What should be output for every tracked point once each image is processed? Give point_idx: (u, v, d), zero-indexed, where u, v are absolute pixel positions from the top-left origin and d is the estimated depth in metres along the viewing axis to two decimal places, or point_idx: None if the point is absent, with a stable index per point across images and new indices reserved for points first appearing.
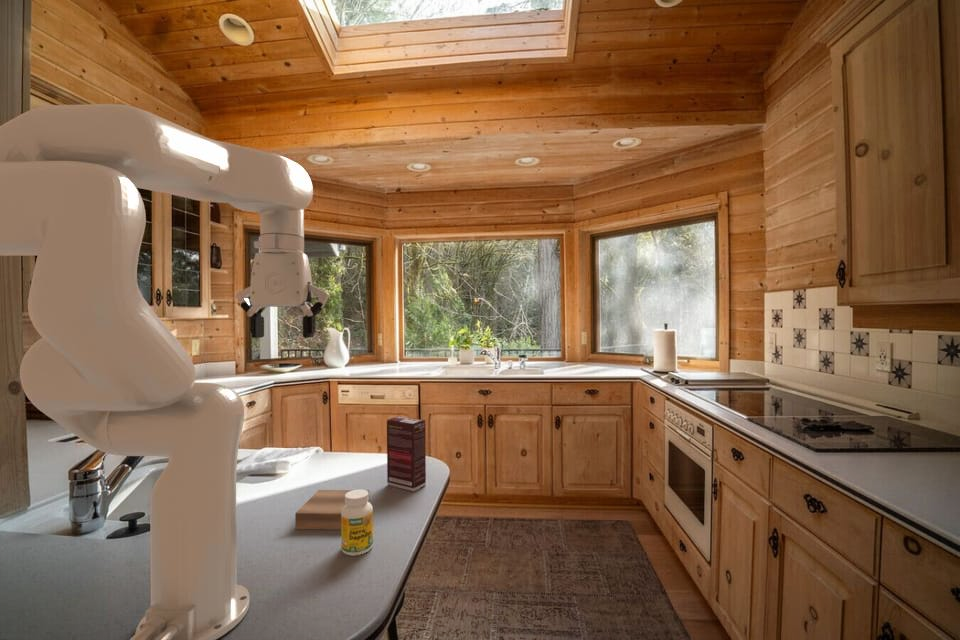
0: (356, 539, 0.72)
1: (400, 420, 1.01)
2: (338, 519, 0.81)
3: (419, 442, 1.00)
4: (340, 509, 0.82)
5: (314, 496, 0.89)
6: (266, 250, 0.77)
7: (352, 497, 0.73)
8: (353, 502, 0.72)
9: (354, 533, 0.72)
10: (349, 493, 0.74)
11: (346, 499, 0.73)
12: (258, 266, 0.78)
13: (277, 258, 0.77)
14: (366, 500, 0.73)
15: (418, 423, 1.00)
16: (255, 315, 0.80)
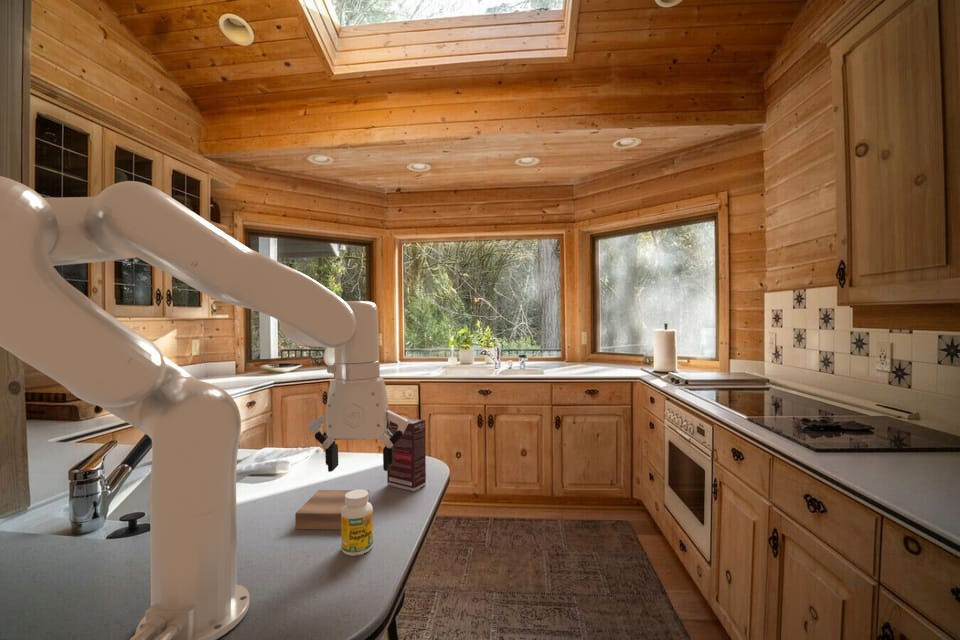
0: (356, 539, 0.72)
1: None
2: (338, 519, 0.81)
3: (419, 442, 1.00)
4: (340, 509, 0.82)
5: (314, 496, 0.89)
6: (343, 382, 0.71)
7: (352, 497, 0.73)
8: (353, 502, 0.72)
9: (354, 533, 0.72)
10: (349, 493, 0.74)
11: (346, 499, 0.73)
12: (334, 397, 0.72)
13: (355, 388, 0.72)
14: (366, 500, 0.73)
15: (418, 423, 1.00)
16: (330, 446, 0.74)
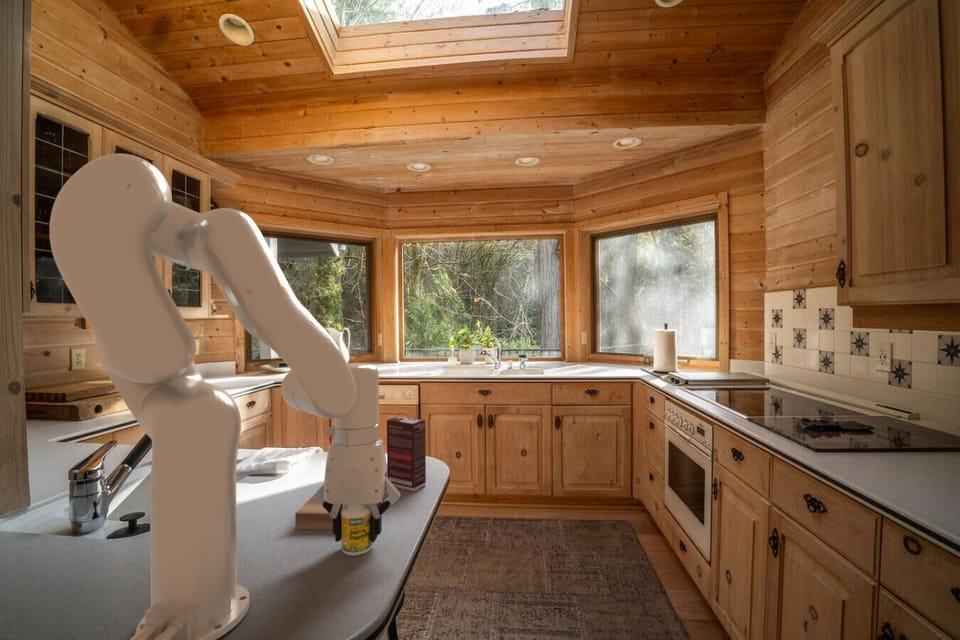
0: (356, 539, 0.72)
1: (400, 420, 1.01)
2: None
3: (419, 442, 1.00)
4: None
5: None
6: (343, 447, 0.71)
7: None
8: None
9: (354, 533, 0.72)
10: None
11: None
12: (333, 462, 0.72)
13: (354, 453, 0.71)
14: None
15: (418, 423, 1.00)
16: (338, 516, 0.73)
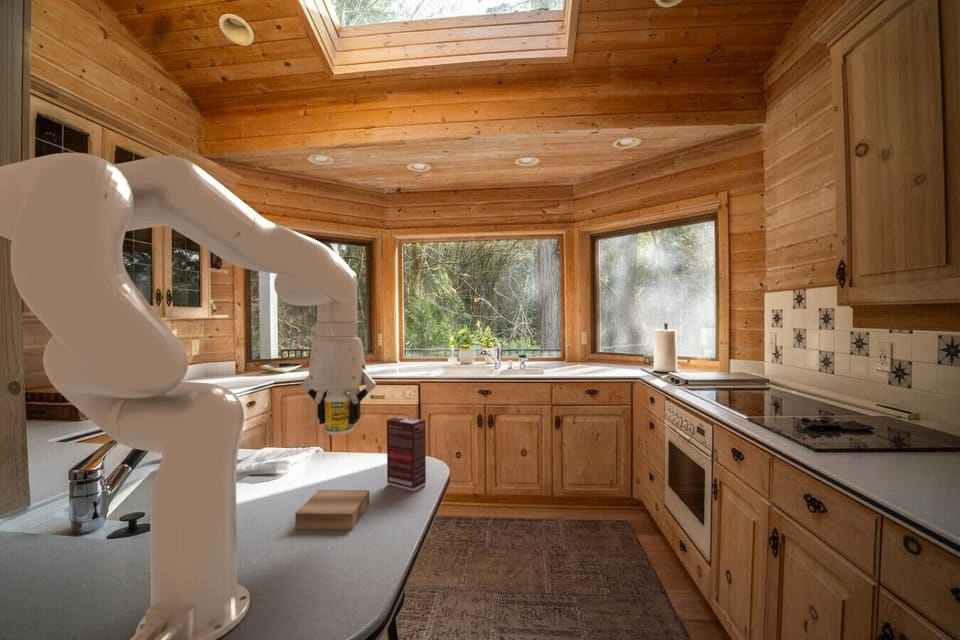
0: (337, 420, 0.82)
1: (400, 420, 1.01)
2: (338, 519, 0.81)
3: (419, 442, 1.00)
4: (340, 509, 0.82)
5: (314, 496, 0.89)
6: (324, 338, 0.81)
7: None
8: None
9: (335, 415, 0.82)
10: None
11: None
12: (316, 352, 0.82)
13: (334, 345, 0.81)
14: None
15: (418, 423, 1.00)
16: (322, 402, 0.84)
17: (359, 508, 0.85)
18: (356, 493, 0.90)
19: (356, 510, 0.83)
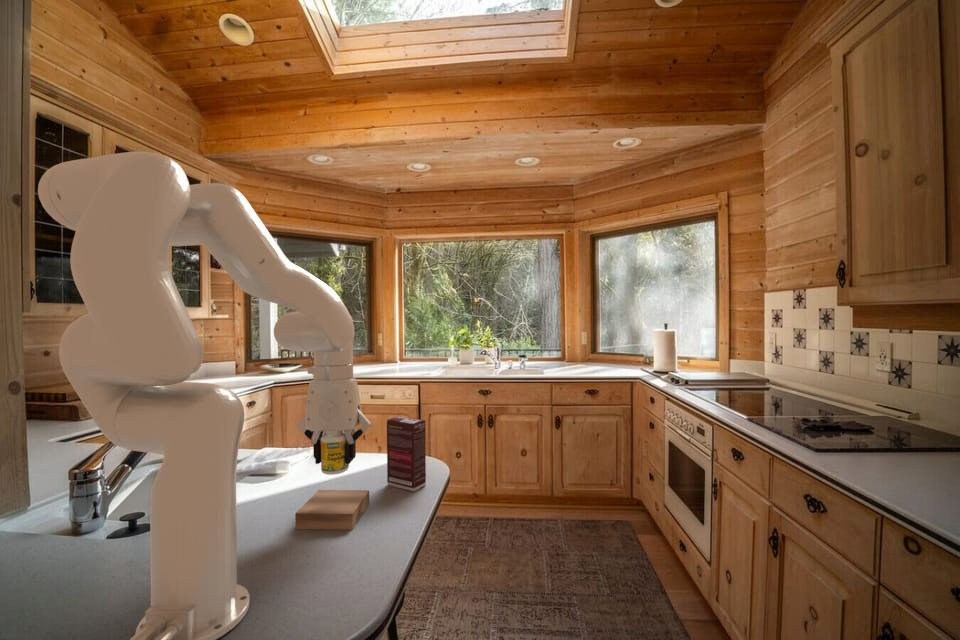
0: (333, 460, 0.84)
1: (400, 420, 1.01)
2: (338, 519, 0.81)
3: (419, 442, 1.00)
4: (340, 509, 0.82)
5: (314, 496, 0.89)
6: (321, 381, 0.83)
7: None
8: None
9: (331, 455, 0.84)
10: None
11: None
12: (313, 394, 0.84)
13: (330, 387, 0.84)
14: None
15: (418, 423, 1.00)
16: (318, 442, 0.86)
17: (359, 508, 0.85)
18: (356, 493, 0.90)
19: (356, 510, 0.83)
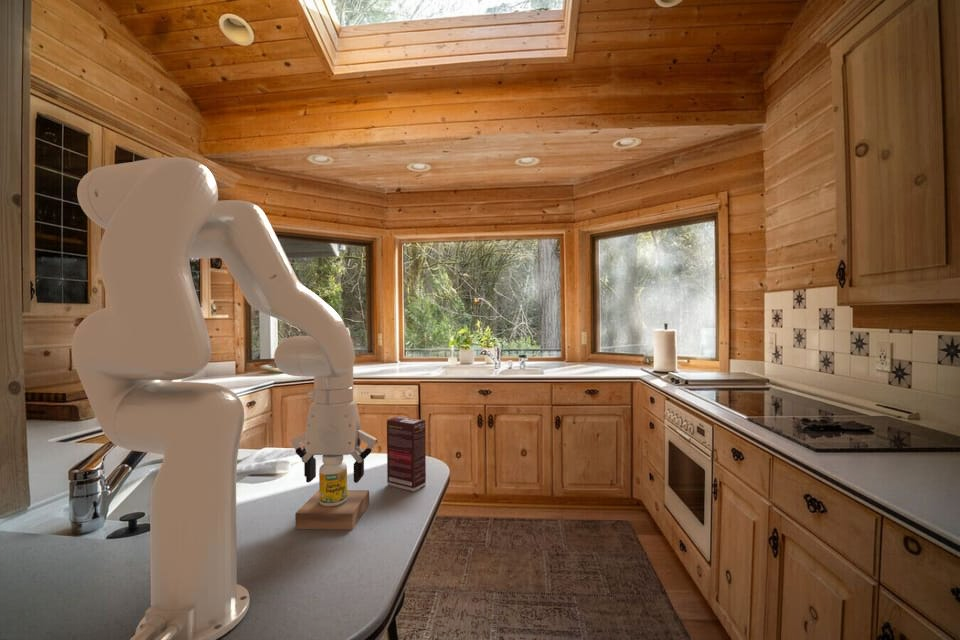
0: (331, 492, 0.84)
1: (400, 420, 1.01)
2: (338, 519, 0.81)
3: (419, 442, 1.00)
4: (340, 509, 0.82)
5: (314, 496, 0.89)
6: (321, 405, 0.83)
7: (328, 456, 0.85)
8: (329, 460, 0.84)
9: (329, 487, 0.84)
10: None
11: (323, 458, 0.85)
12: (313, 418, 0.84)
13: (330, 411, 0.84)
14: (341, 460, 0.86)
15: (418, 423, 1.00)
16: (309, 460, 0.86)
17: (359, 508, 0.85)
18: (356, 493, 0.90)
19: (356, 510, 0.83)
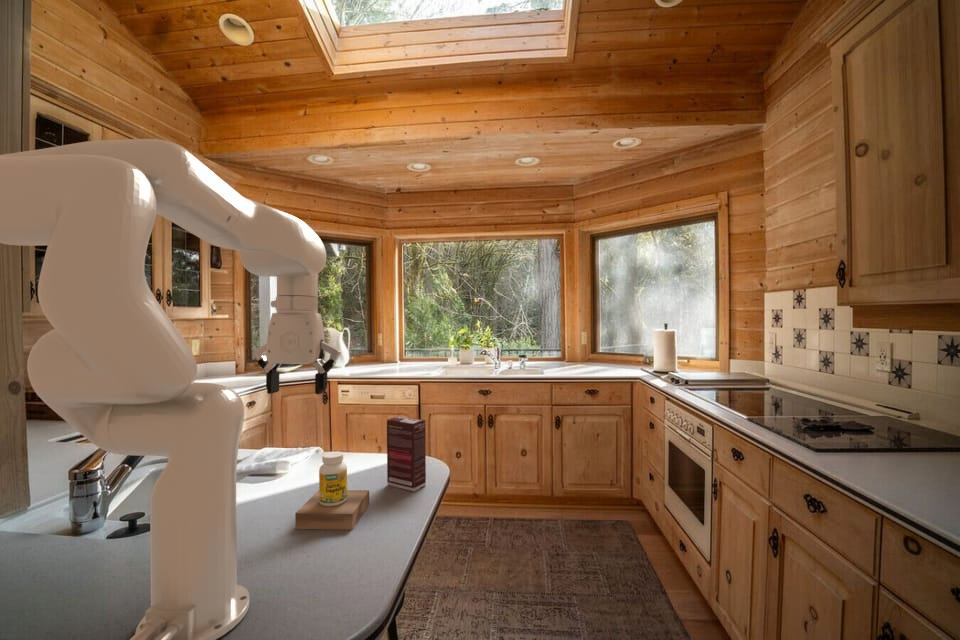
0: (331, 492, 0.84)
1: (400, 420, 1.01)
2: (338, 519, 0.81)
3: (419, 442, 1.00)
4: (340, 509, 0.82)
5: (314, 496, 0.89)
6: (281, 311, 0.81)
7: (328, 456, 0.85)
8: (329, 460, 0.84)
9: (329, 487, 0.84)
10: (326, 454, 0.86)
11: (323, 458, 0.85)
12: (274, 326, 0.82)
13: (292, 318, 0.81)
14: (341, 460, 0.86)
15: (418, 423, 1.00)
16: (271, 371, 0.83)
17: (359, 508, 0.85)
18: (356, 493, 0.90)
19: (356, 510, 0.83)
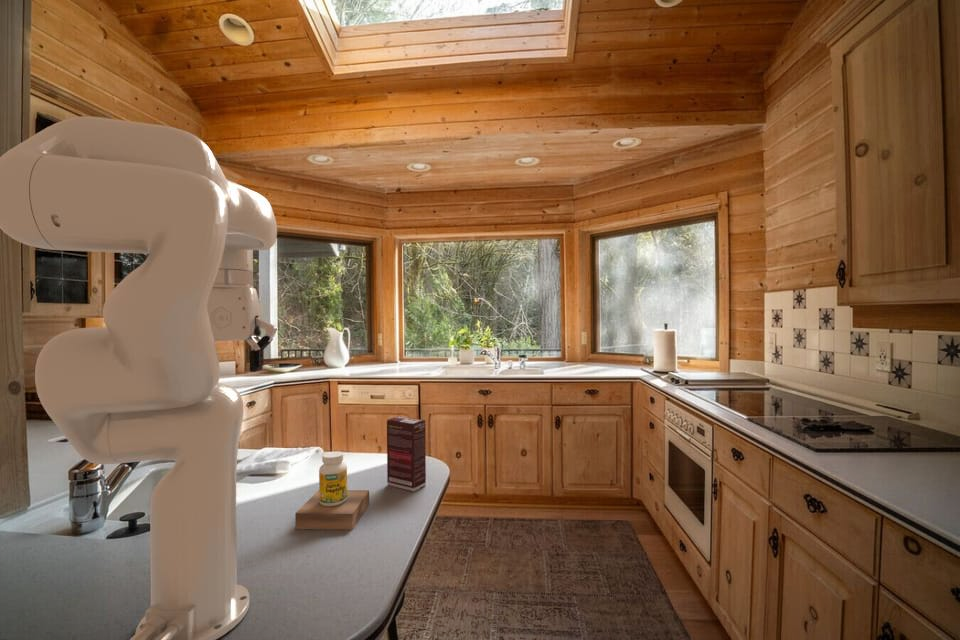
0: (331, 491, 0.84)
1: (400, 420, 1.01)
2: (338, 519, 0.81)
3: (419, 442, 1.00)
4: (340, 509, 0.82)
5: (314, 496, 0.89)
6: (212, 285, 0.77)
7: (328, 456, 0.85)
8: (329, 460, 0.84)
9: (329, 487, 0.84)
10: (326, 454, 0.86)
11: (323, 458, 0.85)
12: None
13: (223, 293, 0.78)
14: (341, 460, 0.86)
15: (418, 423, 1.00)
16: None
17: (359, 508, 0.85)
18: (356, 493, 0.90)
19: (356, 510, 0.83)
